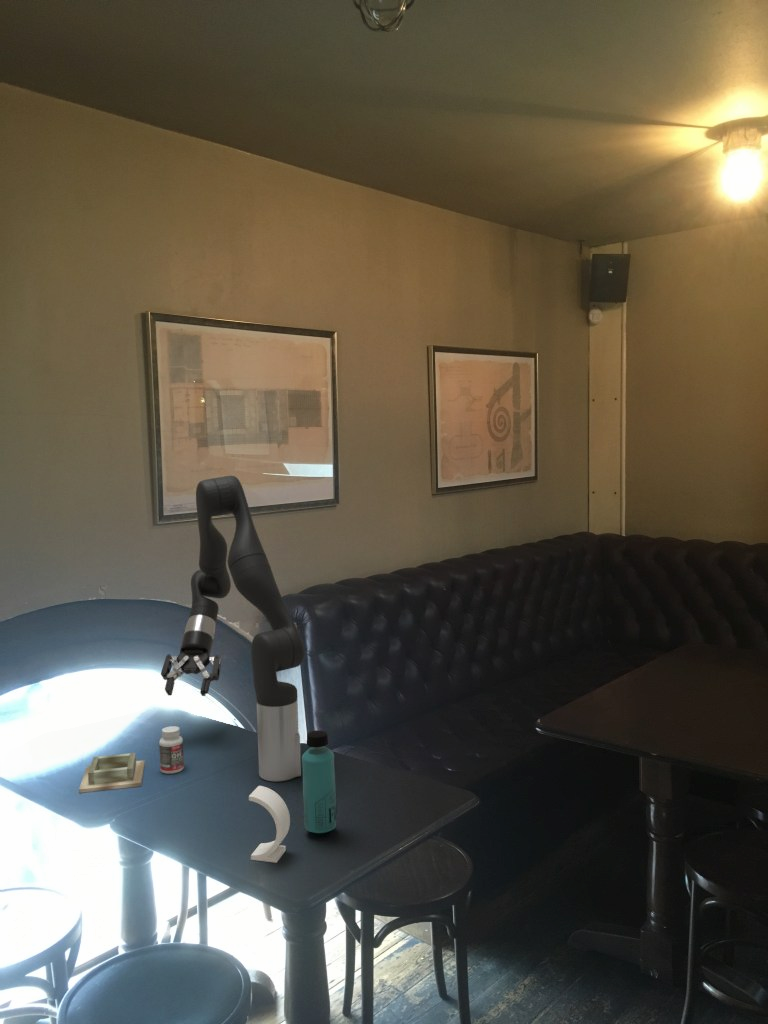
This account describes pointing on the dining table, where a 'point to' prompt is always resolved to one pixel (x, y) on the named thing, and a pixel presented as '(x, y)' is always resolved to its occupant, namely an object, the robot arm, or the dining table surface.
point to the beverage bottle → (319, 784)
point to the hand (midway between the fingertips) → (185, 694)
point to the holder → (112, 773)
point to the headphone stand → (282, 821)
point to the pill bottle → (171, 750)
